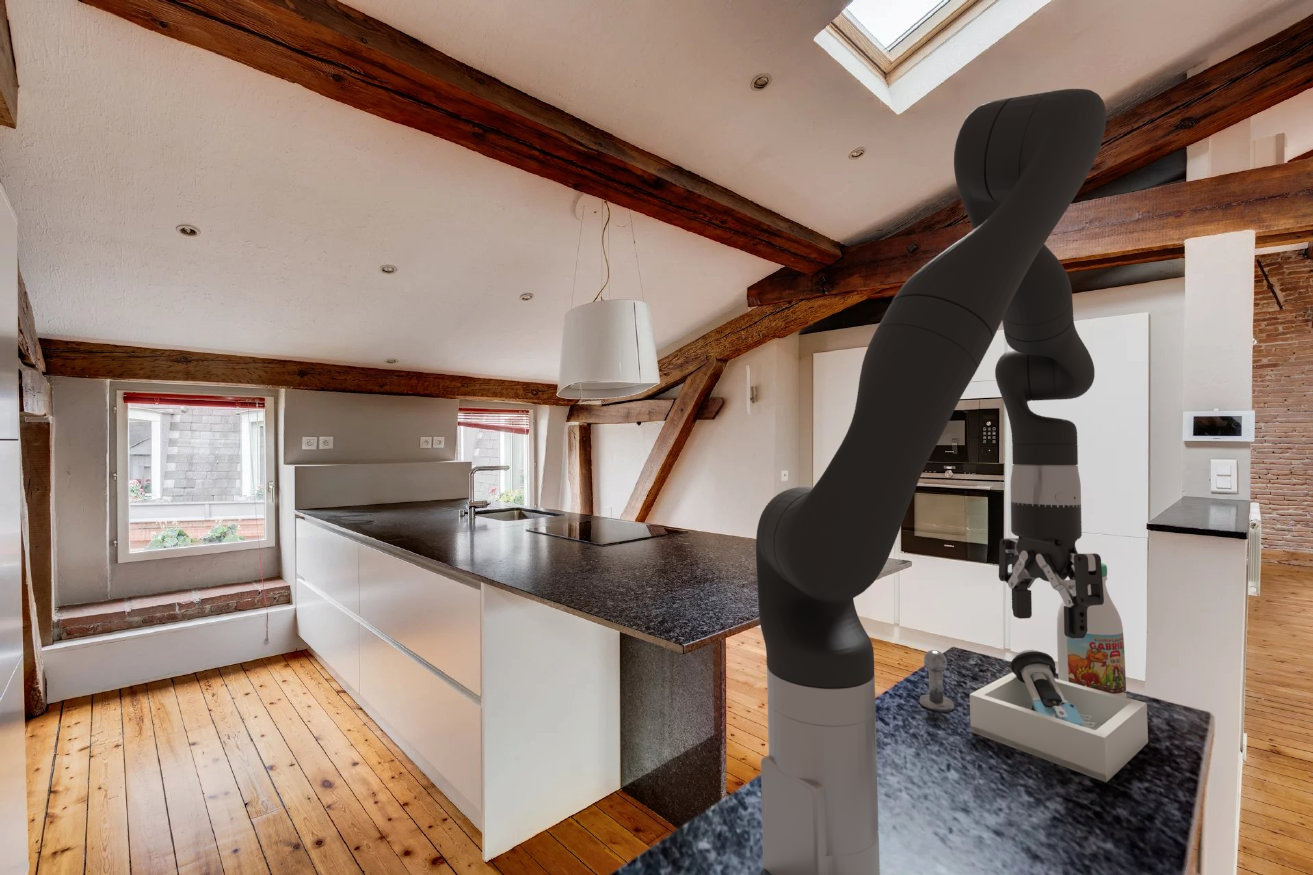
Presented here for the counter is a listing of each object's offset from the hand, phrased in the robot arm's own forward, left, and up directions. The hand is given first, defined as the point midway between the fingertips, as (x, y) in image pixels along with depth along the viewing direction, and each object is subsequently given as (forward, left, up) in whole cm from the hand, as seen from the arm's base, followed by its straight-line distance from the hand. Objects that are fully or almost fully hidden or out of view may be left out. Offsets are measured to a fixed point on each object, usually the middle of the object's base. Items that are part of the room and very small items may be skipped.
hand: (1047, 626), depth 73 cm
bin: (0, -1, -14) cm, 14 cm away
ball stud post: (-3, +13, -14) cm, 19 cm away
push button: (-1, -2, -12) cm, 12 cm away
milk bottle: (+15, 0, -14) cm, 20 cm away
